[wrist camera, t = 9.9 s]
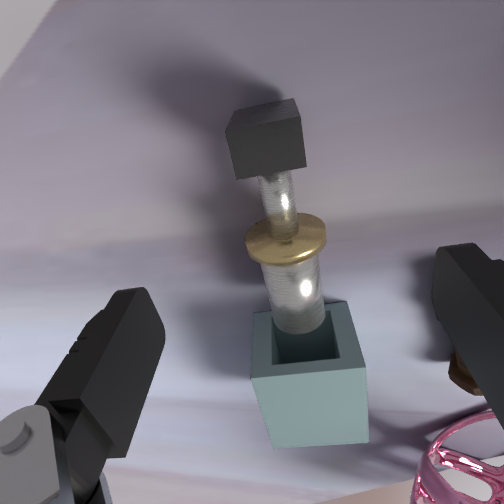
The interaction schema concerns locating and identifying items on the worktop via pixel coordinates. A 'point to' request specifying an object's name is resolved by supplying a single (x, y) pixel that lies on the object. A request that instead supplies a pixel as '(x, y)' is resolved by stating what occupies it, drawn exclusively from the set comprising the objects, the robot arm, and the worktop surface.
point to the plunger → (280, 213)
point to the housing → (311, 381)
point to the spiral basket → (434, 485)
